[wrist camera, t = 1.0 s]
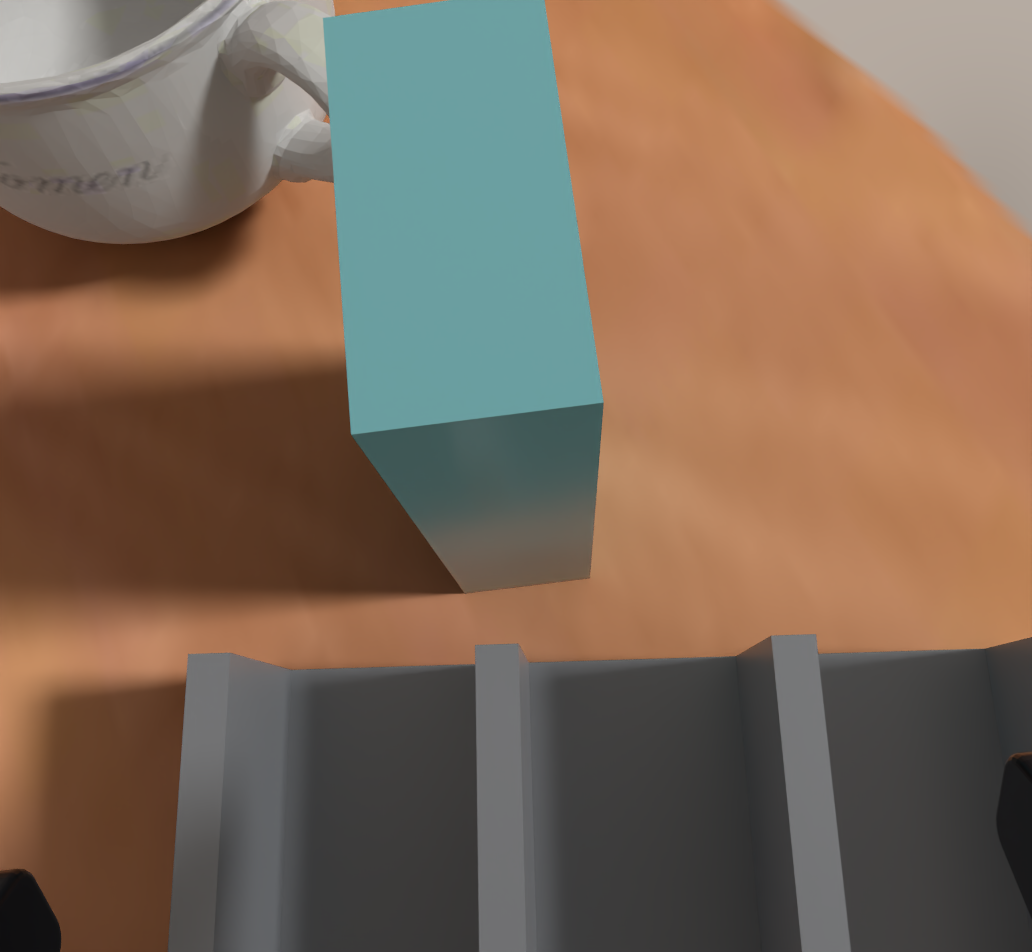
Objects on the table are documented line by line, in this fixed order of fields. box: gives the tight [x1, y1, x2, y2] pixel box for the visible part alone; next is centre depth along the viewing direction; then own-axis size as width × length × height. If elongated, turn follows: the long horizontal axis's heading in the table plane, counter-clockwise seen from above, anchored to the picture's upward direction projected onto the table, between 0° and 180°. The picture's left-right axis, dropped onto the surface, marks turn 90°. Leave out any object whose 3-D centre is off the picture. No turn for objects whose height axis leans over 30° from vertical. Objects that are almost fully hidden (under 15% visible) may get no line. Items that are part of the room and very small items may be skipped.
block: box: [323, 0, 604, 593], centre depth 18 cm, size 6×3×12 cm, turn 7°
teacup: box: [0, 0, 335, 244], centre depth 23 cm, size 14×11×8 cm
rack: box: [168, 634, 1032, 952], centre depth 18 cm, size 10×17×5 cm, turn 91°
